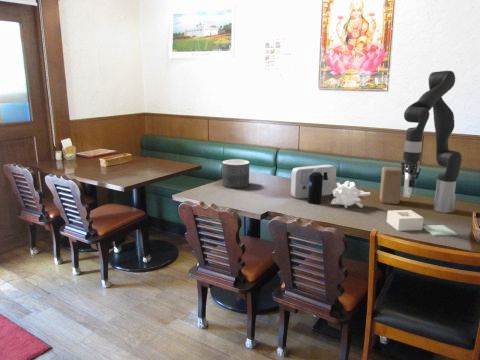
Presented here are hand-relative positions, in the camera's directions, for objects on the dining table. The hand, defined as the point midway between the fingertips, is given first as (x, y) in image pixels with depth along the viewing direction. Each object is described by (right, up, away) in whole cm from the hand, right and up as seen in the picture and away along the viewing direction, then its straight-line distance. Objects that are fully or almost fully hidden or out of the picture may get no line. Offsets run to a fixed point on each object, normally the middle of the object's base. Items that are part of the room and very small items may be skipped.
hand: (408, 185), depth 192 cm
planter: (-83, -1, +78) cm, 114 cm away
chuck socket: (0, -20, +5) cm, 20 cm away
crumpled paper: (-20, -12, +35) cm, 42 cm away
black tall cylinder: (-37, -10, +41) cm, 56 cm away
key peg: (0, -5, +1) cm, 5 cm away
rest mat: (+14, -21, -1) cm, 25 cm away
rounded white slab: (-36, -7, +55) cm, 66 cm away
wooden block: (+7, -10, +44) cm, 45 cm away
